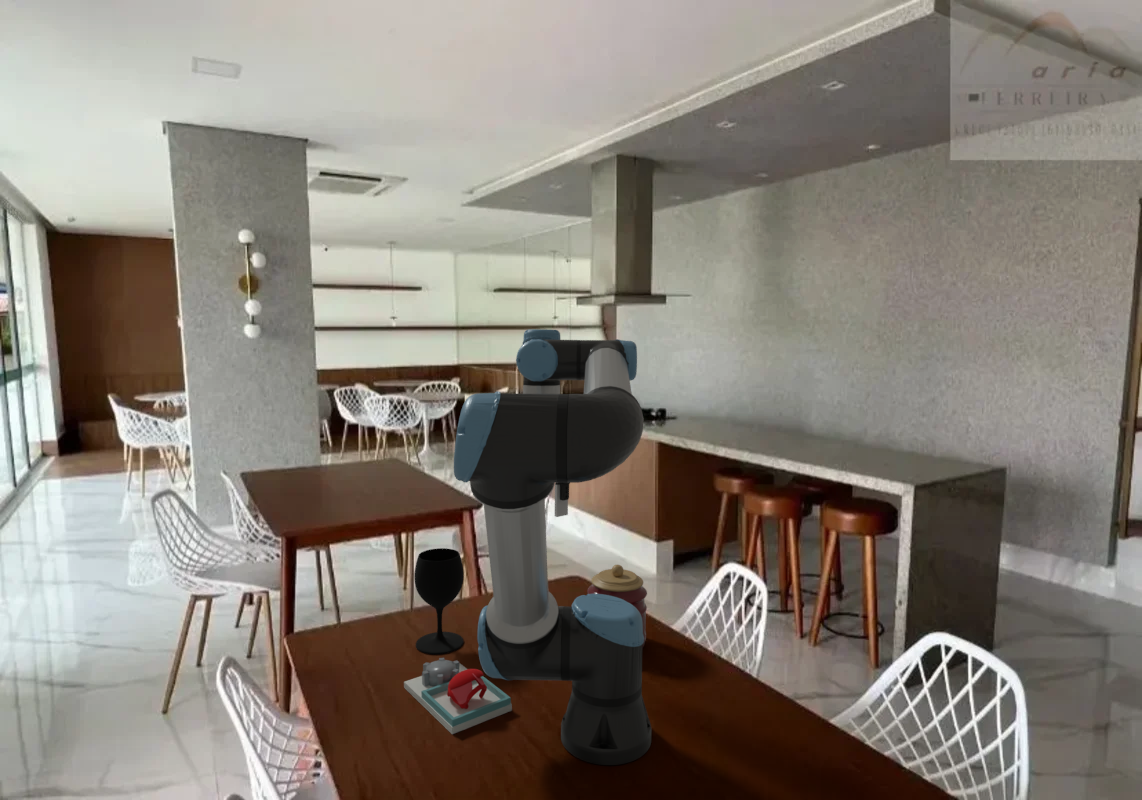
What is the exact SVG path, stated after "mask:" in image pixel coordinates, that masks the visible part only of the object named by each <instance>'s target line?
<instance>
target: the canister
mask: <svg viewBox="0 0 1142 800" xmlns="http://www.w3.org/2000/svg"><path fill="white" fill-rule="evenodd" d="M643 585H644V580H643V578H642V577H641V576H639V575H637V573H636V572H633V571H631V570H627V569H624V567H623V566H622V565H620V564H614V565H613V566H612V567H611V568H610V569H609V568H608V569H603V570H601V571H600V572H598V573H597V574H595V575H594V576H592V578H591V585H590V586H589V587H587V594H604V595H610V596H614V597H617V598H620V599H623V600H625V601H626V602H628V603H630V604H632V605H633V606H634V607H635V608H636V609H637V610H638V611H639V612H640V614H641V617H642V626H643V636H644V643H643V644H642V649H644V647H645V645H646V639H647V631H646V623H647V622H646V617H647V615H646V614H647V613H646V612H647V609H648V606H647V604H646V603H645V598H646V597H647V595H648V591H647V589H646V588H645V587H644V586H643Z"/></svg>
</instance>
